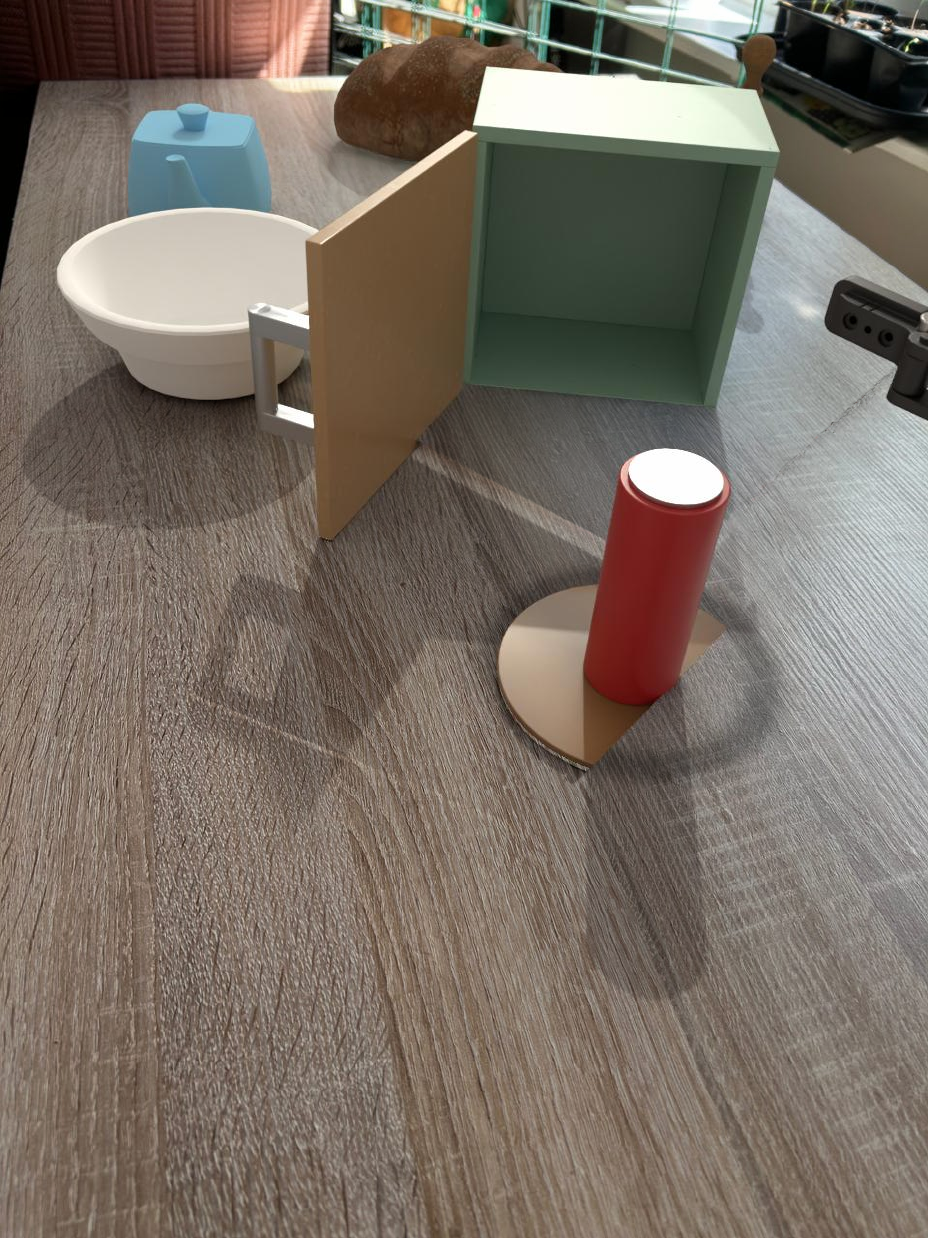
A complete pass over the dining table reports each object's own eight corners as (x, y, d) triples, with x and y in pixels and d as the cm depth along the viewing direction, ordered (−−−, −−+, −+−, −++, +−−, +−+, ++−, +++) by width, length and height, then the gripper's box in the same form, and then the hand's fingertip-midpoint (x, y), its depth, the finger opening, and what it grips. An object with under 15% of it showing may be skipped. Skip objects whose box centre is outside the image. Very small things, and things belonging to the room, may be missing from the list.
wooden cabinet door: (249, 513, 70) (219, 218, 57) (390, 377, 84) (393, 113, 70) (331, 541, 68) (321, 244, 55) (461, 398, 82) (478, 132, 69)
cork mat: (593, 561, 69) (595, 551, 68) (804, 674, 62) (807, 665, 62) (442, 684, 60) (443, 675, 59) (669, 832, 53) (672, 823, 53)
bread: (347, 116, 128) (344, 10, 120) (590, 135, 127) (603, 29, 119) (323, 163, 116) (318, 48, 109) (591, 184, 115) (605, 70, 108)
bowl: (402, 354, 87) (404, 257, 81) (220, 470, 74) (207, 364, 68) (213, 277, 95) (203, 185, 89) (17, 370, 82) (-9, 268, 76)
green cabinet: (713, 417, 82) (780, 151, 69) (456, 393, 83) (472, 124, 69) (699, 337, 92) (756, 89, 78) (469, 315, 92) (486, 65, 79)
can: (575, 639, 62) (610, 444, 53) (665, 636, 63) (715, 443, 53) (592, 707, 58) (633, 509, 49) (688, 704, 59) (746, 508, 50)
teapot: (116, 280, 93) (93, 145, 86) (155, 199, 107) (138, 76, 99) (258, 286, 94) (248, 153, 86) (280, 205, 107) (272, 83, 99)
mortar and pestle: (716, 210, 113) (758, 21, 101) (765, 232, 109) (814, 39, 97) (674, 224, 109) (712, 30, 97) (723, 247, 106) (768, 49, 94)
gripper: (1453, 295, 37) (1017, 148, 45) (1302, 426, 29) (818, 222, 38) (1320, 475, 42) (951, 312, 50) (1164, 624, 34) (765, 404, 43)
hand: (894, 273), depth 44 cm, fingers open, 8 cm apart
